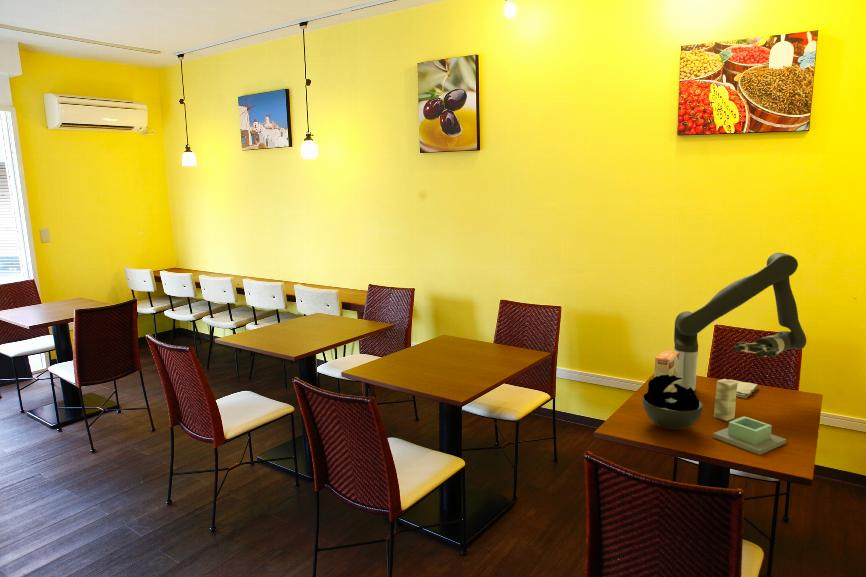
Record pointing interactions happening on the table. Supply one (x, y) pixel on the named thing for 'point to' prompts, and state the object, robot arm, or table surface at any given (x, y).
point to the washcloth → (745, 388)
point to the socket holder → (750, 435)
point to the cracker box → (667, 366)
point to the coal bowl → (671, 404)
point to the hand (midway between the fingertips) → (746, 352)
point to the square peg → (725, 399)
